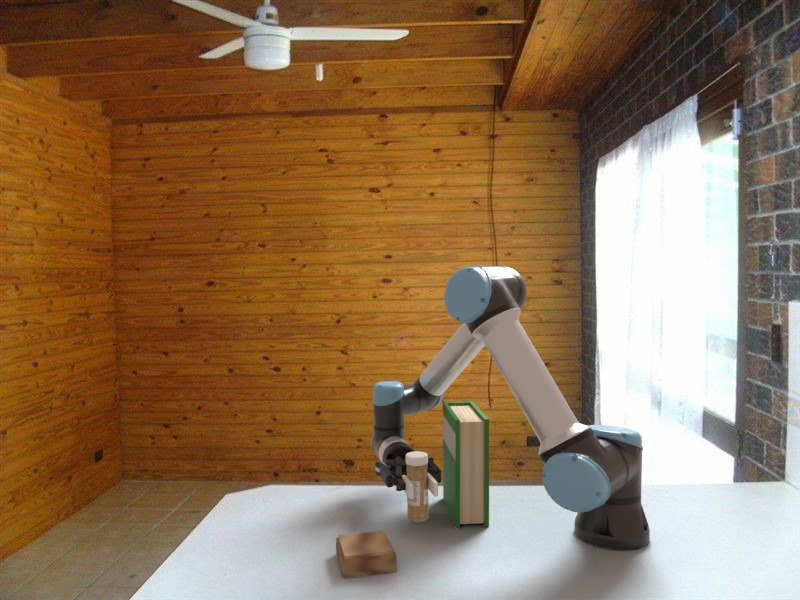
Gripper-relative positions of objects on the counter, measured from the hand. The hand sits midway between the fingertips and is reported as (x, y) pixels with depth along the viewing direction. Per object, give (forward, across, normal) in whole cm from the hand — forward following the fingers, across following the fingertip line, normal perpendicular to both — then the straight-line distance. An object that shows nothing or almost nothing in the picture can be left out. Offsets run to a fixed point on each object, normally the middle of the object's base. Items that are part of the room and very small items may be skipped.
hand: (423, 491), depth 125 cm
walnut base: (0, +12, -13) cm, 18 cm away
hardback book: (-20, -15, -13) cm, 28 cm away
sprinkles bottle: (-5, 0, -8) cm, 9 cm away
